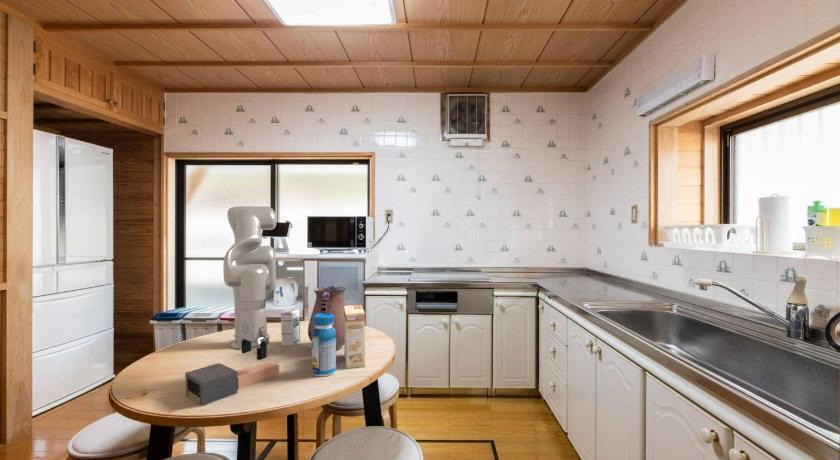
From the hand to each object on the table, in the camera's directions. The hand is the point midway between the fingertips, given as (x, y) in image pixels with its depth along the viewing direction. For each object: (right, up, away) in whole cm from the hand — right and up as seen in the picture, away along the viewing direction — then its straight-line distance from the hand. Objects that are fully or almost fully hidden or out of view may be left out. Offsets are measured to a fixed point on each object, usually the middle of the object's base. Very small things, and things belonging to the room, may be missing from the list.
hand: (254, 355), depth 124 cm
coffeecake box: (+31, -8, +16) cm, 35 cm away
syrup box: (-1, -8, +37) cm, 38 cm away
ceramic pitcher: (+18, -8, +29) cm, 35 cm away
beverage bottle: (+22, -8, +5) cm, 24 cm away
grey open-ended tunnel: (-7, -8, -11) cm, 15 cm away
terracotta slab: (+1, -8, -1) cm, 8 cm away
